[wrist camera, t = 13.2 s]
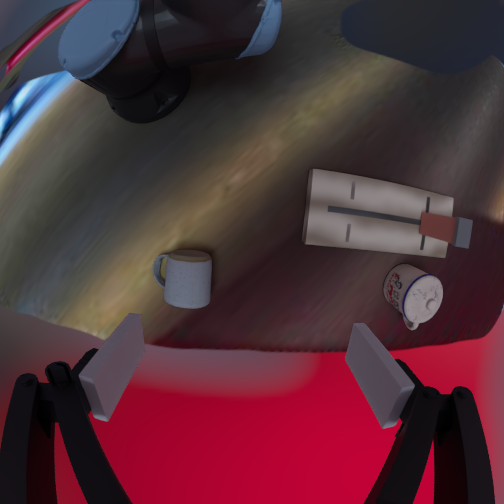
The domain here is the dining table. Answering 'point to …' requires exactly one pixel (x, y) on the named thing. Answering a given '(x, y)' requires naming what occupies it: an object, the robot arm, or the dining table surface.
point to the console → (370, 214)
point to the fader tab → (446, 229)
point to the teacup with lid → (413, 293)
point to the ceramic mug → (185, 278)
